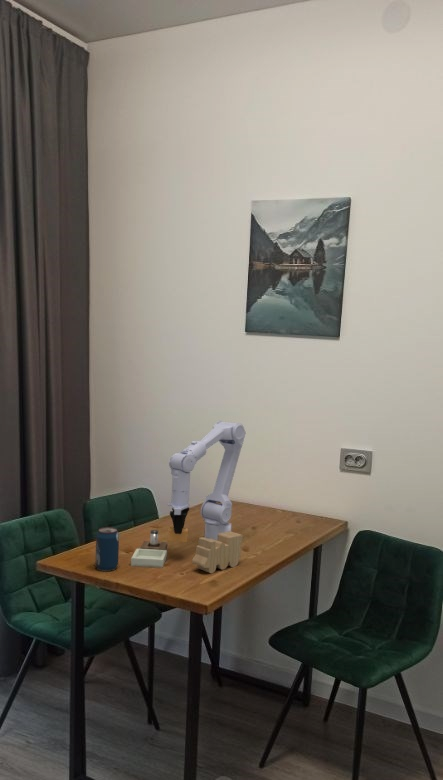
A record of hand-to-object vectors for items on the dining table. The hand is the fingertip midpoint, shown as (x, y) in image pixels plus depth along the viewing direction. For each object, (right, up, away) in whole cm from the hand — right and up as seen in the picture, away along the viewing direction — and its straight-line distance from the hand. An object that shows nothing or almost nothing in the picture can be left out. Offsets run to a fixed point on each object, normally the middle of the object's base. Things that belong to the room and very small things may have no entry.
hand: (178, 531), depth 209 cm
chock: (0, -3, 0) cm, 3 cm away
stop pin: (-9, -8, +6) cm, 14 cm away
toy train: (+13, -10, -6) cm, 17 cm away
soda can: (-22, -9, -11) cm, 26 cm away
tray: (-9, -9, -4) cm, 13 cm away
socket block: (-9, -8, +6) cm, 14 cm away
